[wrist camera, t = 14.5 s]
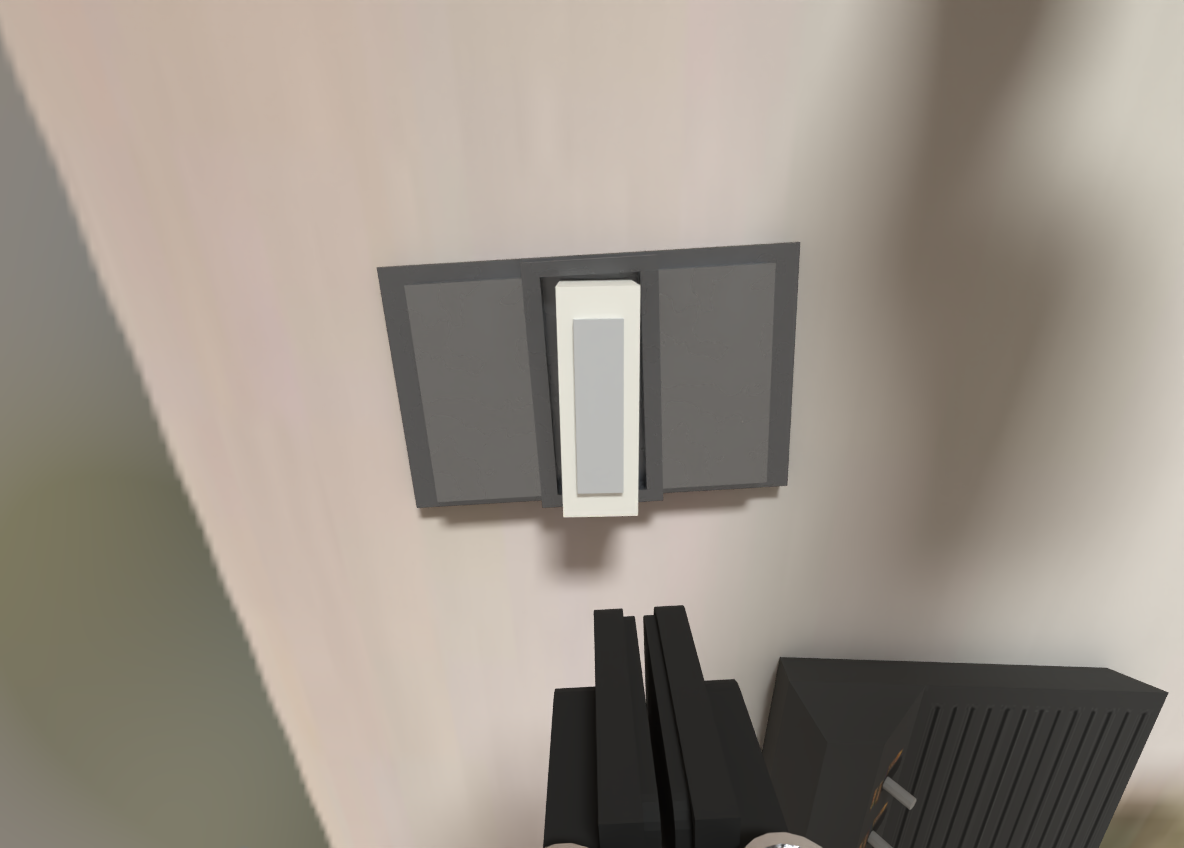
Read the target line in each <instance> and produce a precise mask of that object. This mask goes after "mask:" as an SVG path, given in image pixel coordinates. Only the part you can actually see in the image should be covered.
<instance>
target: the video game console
mask: <svg viewBox="0 0 1184 848" xmlns="http://www.w3.org/2000/svg"><path fill="white" fill-rule="evenodd" d="M1167 695H1168V692H1166V691H1163V690H1161V689H1158V688H1156V687H1153V686H1151V685H1148V684H1146V683H1143V682H1141V681H1138V680H1136V679H1133V678H1131V677H1128V676H1126V675H1123V674H1121V673H1118V672H1116V671H1113V670H1111V669H1108V668H1094V667H1064V666H1033V665H1002V664H972V663H941V662H910V661H880V660H849V659H818V658H787V657H780V660H779V666H778V671H777V676H776V682H775V687H774V692H773V697H772V703H771V708H770V713H769V719H768V724H767V729H766V735H765V740H764V745H763V750H762V755H763V758H764V761H765V764H766V767H767V770H768V772H769V775H770V778H771V781H772V784H773V787H774V790H775V793H776V796H777V799H778V802H779V805H780V808H781V810H782V813H783V816H784V819H785V822H786V825H787V828H788V831H789V833H790V834H794V835H798V836H802V837H805V838H806V839H808V840H810V841H812V842H814V843H815V844H817V845H819V846H821V847H822V848H1099V846H1100V843H1101V841H1102V839H1103V837H1104V834H1105V832H1106V830H1107V828H1108V826H1109V823H1110V821H1111V819H1112V817H1113V815H1114V812H1115V810H1116V808H1117V806H1118V803H1119V801H1120V799H1121V797H1122V795H1123V792H1124V790H1125V788H1126V786H1127V784H1128V781H1129V779H1130V777H1131V775H1132V772H1133V770H1134V768H1135V766H1136V764H1137V761H1138V759H1139V757H1140V755H1141V753H1142V750H1143V748H1144V746H1145V744H1146V741H1147V739H1148V737H1149V735H1150V733H1151V730H1152V728H1153V726H1154V724H1155V722H1156V719H1157V717H1158V715H1159V713H1160V710H1161V708H1162V706H1163V704H1164V702H1165V699H1166V697H1167Z"/></svg>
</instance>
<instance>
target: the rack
mask: <svg viewBox="0 0 1184 848" xmlns="http://www.w3.org/2000/svg"><path fill="white" fill-rule="evenodd" d="M799 255H800V242H790V243H773V244H757V245H740V246H723V247H707V248H690V249H673V250H657V251H640V252H623V253H606V254H590V255H573V256H556V257H540V258H523V259H506V260H490V261H473V262H456V263H439V264H423V265H406V266H389V267H377V272H378V278H379V284H380V290H381V296H382V302H383V308H384V314H385V320H386V326H387V332H388V338H389V344H390V350H391V356H392V362H393V368H394V374H395V380H396V386H397V392H398V398H399V404H400V410H401V416H402V422H403V427H404V433H405V439H406V445H407V451H408V457H409V463H410V469H411V475H412V481H413V487H414V493H415V499H416V505H417V508H423V507H440V506H457V505H473V504H490V503H506V502H523V501H539V500H542V507H543V508H546V507H563V494H562V464H561V435H560V406H559V376H558V347H557V318H556V288H555V287H556V285H557V284H558V282H559V281H560V280H584V279H631V280H633V281H634V282H636V283H637V284H639V285H640V372H639V466H638V502H645V501H662V500H663V493H672V492H689V491H705V490H722V489H738V488H755V487H772V486H787V481H788V462H789V444H790V425H791V406H792V387H793V368H794V349H795V330H796V312H797V293H798V274H799Z"/></svg>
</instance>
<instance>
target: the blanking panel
mask: <svg viewBox="0 0 1184 848" xmlns="http://www.w3.org/2000/svg"><path fill="white" fill-rule="evenodd" d="M555 288H556V318H557V347H558V376H559V406H560V435H561V464H562V494H563V517H603V516H638V466H639V372H640V285H639V284H637V283H636V282H634V281H633V280H631V279H584V280H560V281H559V282H558V284H557V285H556V287H555Z"/></svg>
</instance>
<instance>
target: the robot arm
mask: <svg viewBox="0 0 1184 848" xmlns="http://www.w3.org/2000/svg"><path fill="white" fill-rule="evenodd" d="M643 623H644V654H645V684H646V700H645V692H644V685H643V677H642V669H641V661H640V654H639V646H638V638H637V630H636V623H635V616H627V617H623V609H605V610H594V642H595V687H580V688H561V689H555V692H554V701H553V715H552V729H551V744H550V758H549V772H548V786H547V801H546V815H545V829H544V843H543V848H822V847H821V846H819V845H817V844H815V843H814V842H812V841H810V840H808V839H806V838H805V837H802V836H798V835H794V834H790V833H789V831H788V828H787V825H786V822H785V819H784V816H783V813H782V810H781V808H780V805H779V802H778V799H777V796H776V793H775V790H774V787H773V784H772V781H771V778H770V775H769V772H768V770H767V767H766V764H765V761H764V758H763V755H762V752H761V749H760V746H759V743H758V740H757V737H756V734H755V731H754V729H753V726H752V723H751V720H750V717H749V714H748V711H747V708H746V705H745V702H744V699H743V696H742V693H741V691H740V688H739V686H738V683H737V682H736V680H735V679H730V680H711V681H704V678H703V674H702V671H701V667H700V663H699V660H698V656H697V652H696V648H695V645H694V641H693V637H692V633H691V630H690V626H689V622H688V618H687V615H686V611H685V608H684V606H683V605H679V606H660V607H654V615H645V616H644V617H643Z"/></svg>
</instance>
